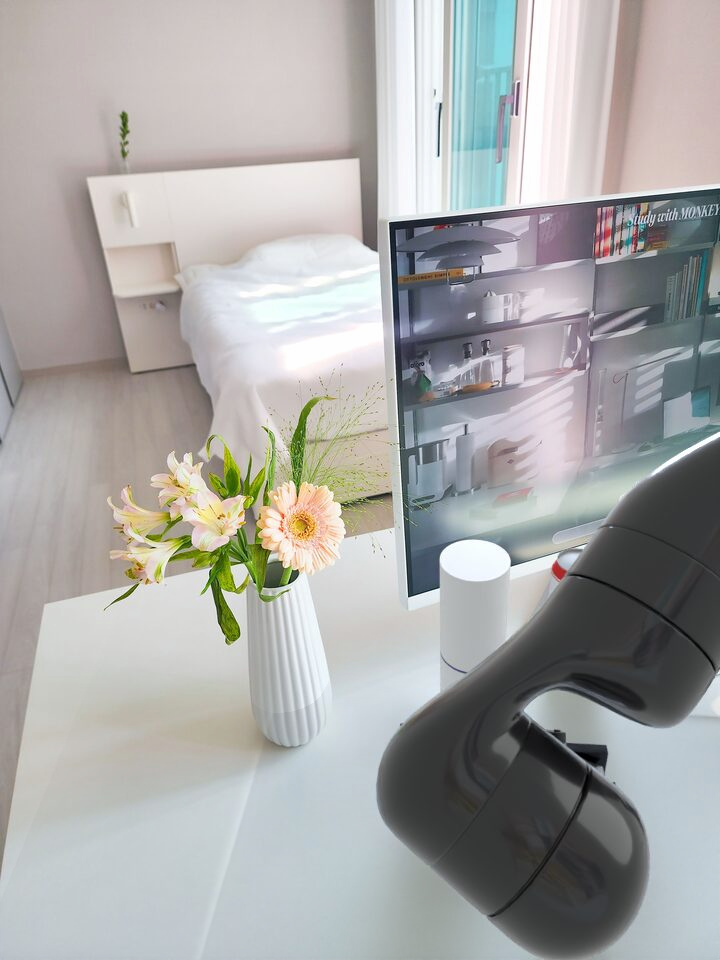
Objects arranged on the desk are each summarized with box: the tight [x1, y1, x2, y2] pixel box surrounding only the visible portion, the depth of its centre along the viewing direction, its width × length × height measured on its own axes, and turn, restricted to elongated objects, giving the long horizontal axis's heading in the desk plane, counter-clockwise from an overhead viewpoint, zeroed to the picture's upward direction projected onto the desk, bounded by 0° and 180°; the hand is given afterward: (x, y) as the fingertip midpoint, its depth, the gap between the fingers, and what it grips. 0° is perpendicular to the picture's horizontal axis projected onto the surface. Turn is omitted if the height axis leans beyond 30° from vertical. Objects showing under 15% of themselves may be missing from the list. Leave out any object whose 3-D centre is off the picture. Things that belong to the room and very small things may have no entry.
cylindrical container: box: [439, 539, 512, 693], centre depth 76 cm, size 7×7×25 cm
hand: (477, 733), depth 59 cm, fingers closed
